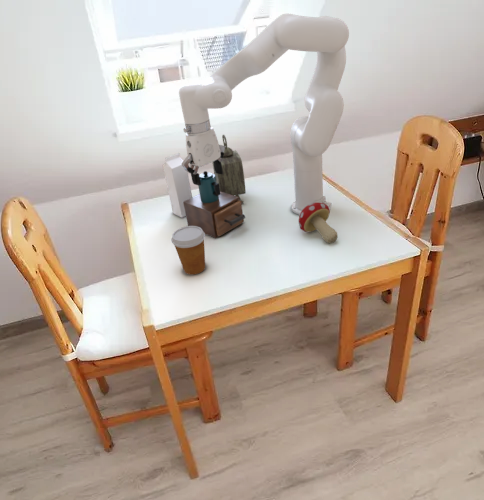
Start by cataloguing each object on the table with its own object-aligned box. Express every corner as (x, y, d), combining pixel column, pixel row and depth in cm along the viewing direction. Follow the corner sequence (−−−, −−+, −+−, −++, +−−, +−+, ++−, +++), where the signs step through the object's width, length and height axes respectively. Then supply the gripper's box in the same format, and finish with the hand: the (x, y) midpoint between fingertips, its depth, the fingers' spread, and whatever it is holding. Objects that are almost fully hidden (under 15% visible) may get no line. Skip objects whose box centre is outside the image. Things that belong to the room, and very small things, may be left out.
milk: (195, 212, 162) (184, 154, 150) (181, 218, 158) (170, 159, 147) (185, 207, 166) (174, 151, 154) (172, 213, 162) (160, 156, 151)
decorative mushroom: (344, 221, 127) (314, 189, 135) (314, 246, 128) (287, 213, 136) (353, 235, 136) (325, 205, 144) (325, 258, 137) (298, 227, 145)
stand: (242, 222, 151) (239, 197, 146) (215, 238, 143) (211, 212, 138) (214, 212, 159) (210, 188, 154) (188, 226, 152) (183, 201, 147)
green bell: (247, 205, 162) (239, 139, 148) (223, 210, 160) (213, 143, 147) (239, 190, 174) (231, 128, 161) (217, 195, 172) (207, 132, 159)
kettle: (226, 199, 145) (222, 170, 140) (213, 206, 142) (208, 177, 137) (204, 192, 152) (200, 164, 147) (191, 198, 149) (186, 170, 143)
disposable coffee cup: (197, 281, 124) (189, 244, 117) (171, 273, 128) (163, 237, 122) (217, 263, 130) (211, 228, 124) (192, 257, 135) (185, 222, 129)
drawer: (252, 225, 147) (249, 204, 143) (227, 239, 140) (224, 218, 136) (218, 212, 157) (214, 192, 153) (193, 225, 150) (189, 205, 146)
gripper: (184, 137, 127) (195, 191, 136) (226, 119, 137) (235, 171, 146) (168, 134, 131) (180, 186, 140) (210, 117, 141) (219, 167, 150)
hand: (208, 178), depth 143 cm, fingers open, 9 cm apart
